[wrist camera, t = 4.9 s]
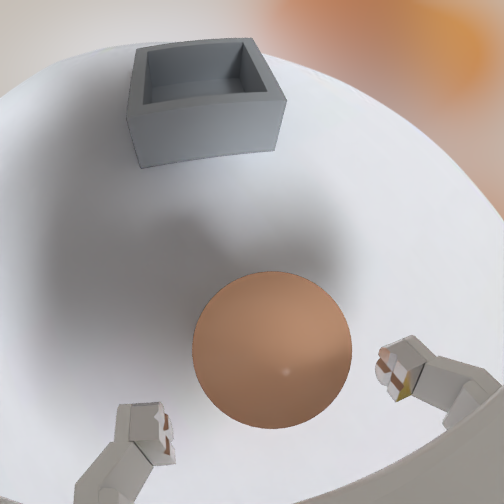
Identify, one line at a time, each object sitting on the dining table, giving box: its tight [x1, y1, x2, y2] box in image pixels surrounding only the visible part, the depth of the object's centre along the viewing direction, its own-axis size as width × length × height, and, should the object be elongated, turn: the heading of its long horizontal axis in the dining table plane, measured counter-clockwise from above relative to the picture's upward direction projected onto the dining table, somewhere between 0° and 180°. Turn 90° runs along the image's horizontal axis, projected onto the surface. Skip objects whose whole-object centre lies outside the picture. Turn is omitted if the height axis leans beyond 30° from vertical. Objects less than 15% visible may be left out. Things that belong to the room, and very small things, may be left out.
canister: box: [192, 271, 352, 429], centre depth 12 cm, size 5×5×8 cm
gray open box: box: [126, 38, 287, 168], centre depth 20 cm, size 10×10×5 cm
